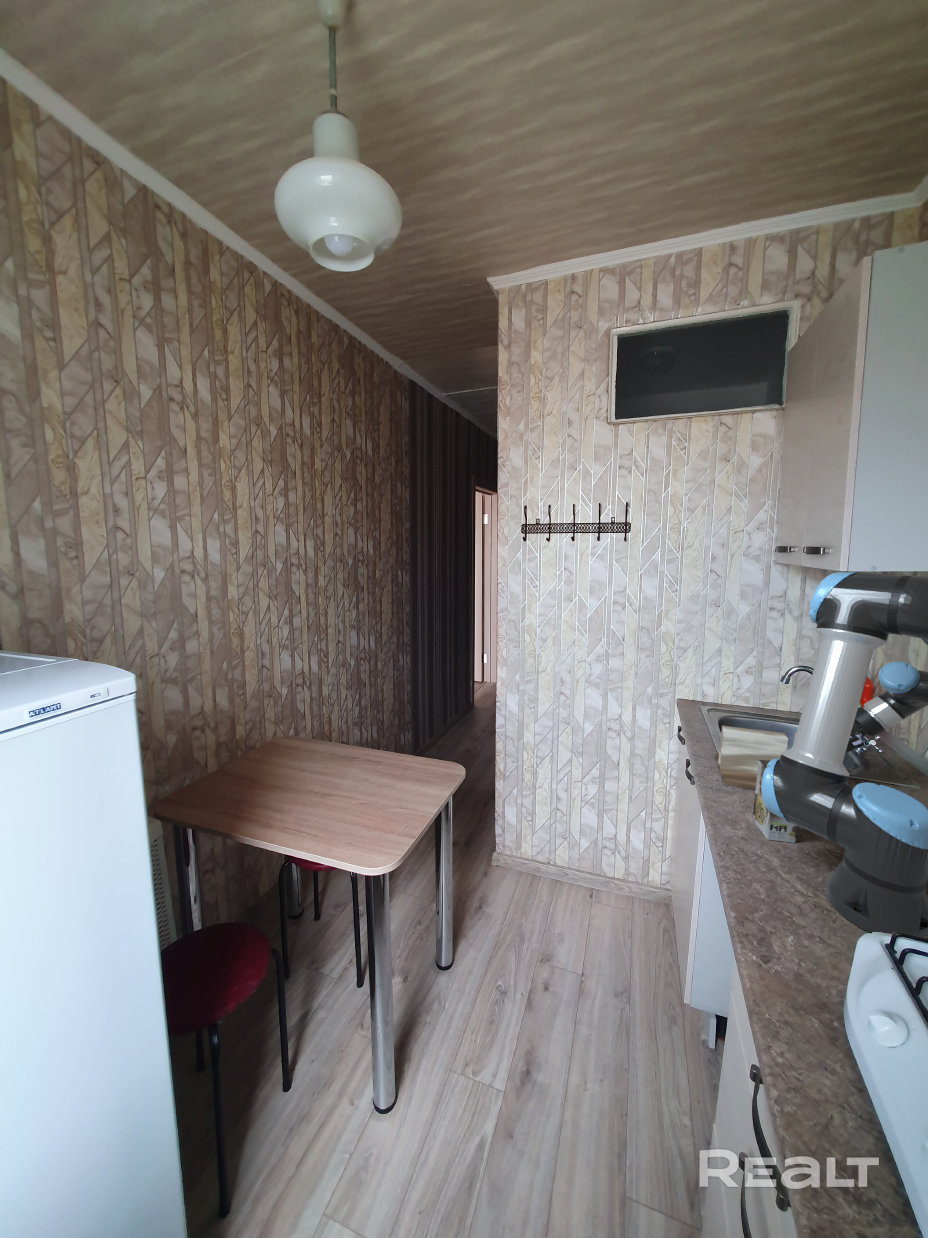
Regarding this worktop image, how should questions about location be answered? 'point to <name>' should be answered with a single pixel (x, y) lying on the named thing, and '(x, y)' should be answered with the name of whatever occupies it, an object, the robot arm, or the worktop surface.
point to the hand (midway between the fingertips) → (794, 764)
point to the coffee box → (770, 815)
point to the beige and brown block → (746, 754)
